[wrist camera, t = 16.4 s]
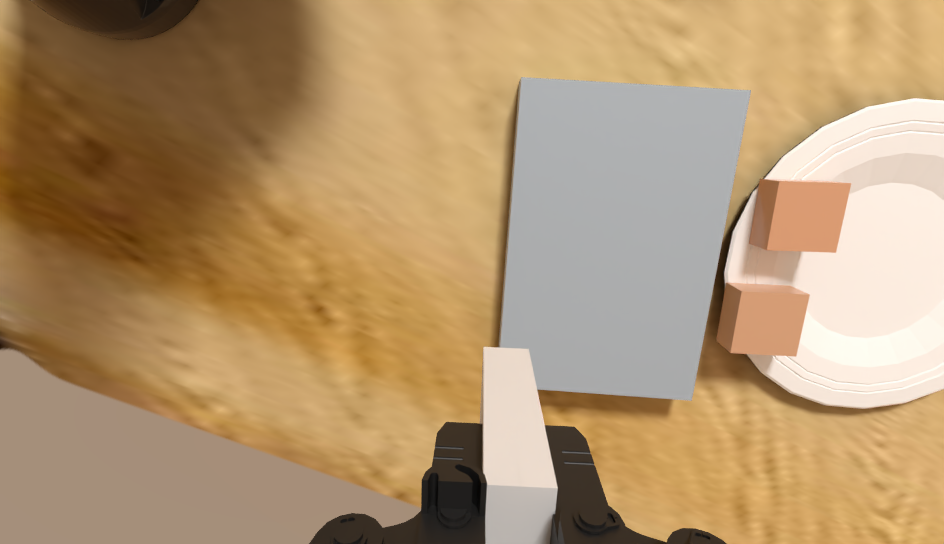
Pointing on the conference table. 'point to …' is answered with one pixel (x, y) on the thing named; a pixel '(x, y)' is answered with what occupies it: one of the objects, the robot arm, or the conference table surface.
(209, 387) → the conference table surface
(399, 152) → the conference table surface
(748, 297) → the tile
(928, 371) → the plate
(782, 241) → the tile
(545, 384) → the board
